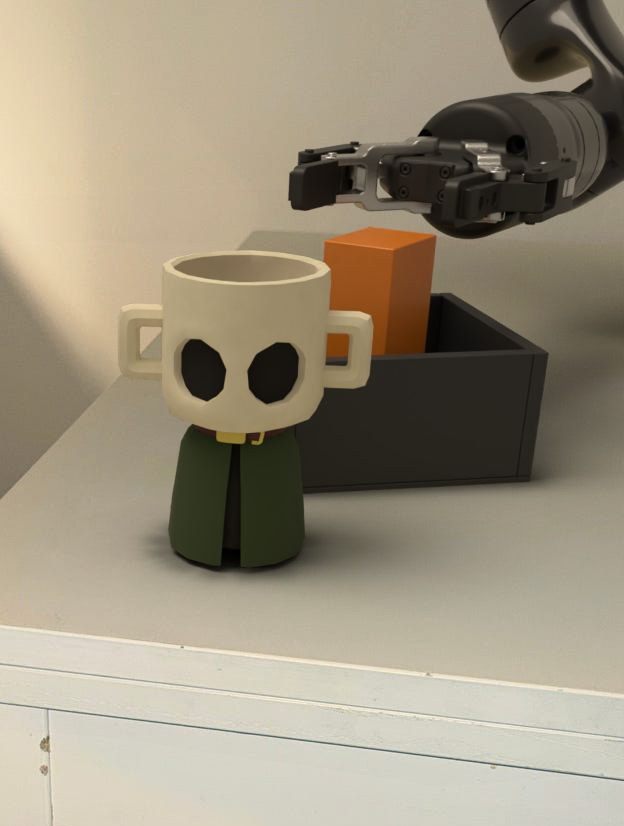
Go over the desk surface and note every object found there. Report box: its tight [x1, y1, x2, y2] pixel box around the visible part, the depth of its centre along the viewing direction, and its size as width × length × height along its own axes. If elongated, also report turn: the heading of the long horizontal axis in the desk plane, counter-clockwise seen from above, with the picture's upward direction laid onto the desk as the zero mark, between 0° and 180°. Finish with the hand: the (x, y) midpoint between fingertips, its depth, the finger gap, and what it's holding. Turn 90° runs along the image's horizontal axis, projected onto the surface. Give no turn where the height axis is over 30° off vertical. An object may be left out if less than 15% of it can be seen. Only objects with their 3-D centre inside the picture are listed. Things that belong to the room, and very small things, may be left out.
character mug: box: [117, 249, 373, 569], centre depth 58 cm, size 11×7×13 cm, turn 82°
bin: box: [289, 292, 550, 495], centre depth 72 cm, size 14×14×7 cm
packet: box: [322, 226, 438, 357], centre depth 70 cm, size 5×4×11 cm
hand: (370, 196), depth 65 cm, fingers open, 8 cm apart
